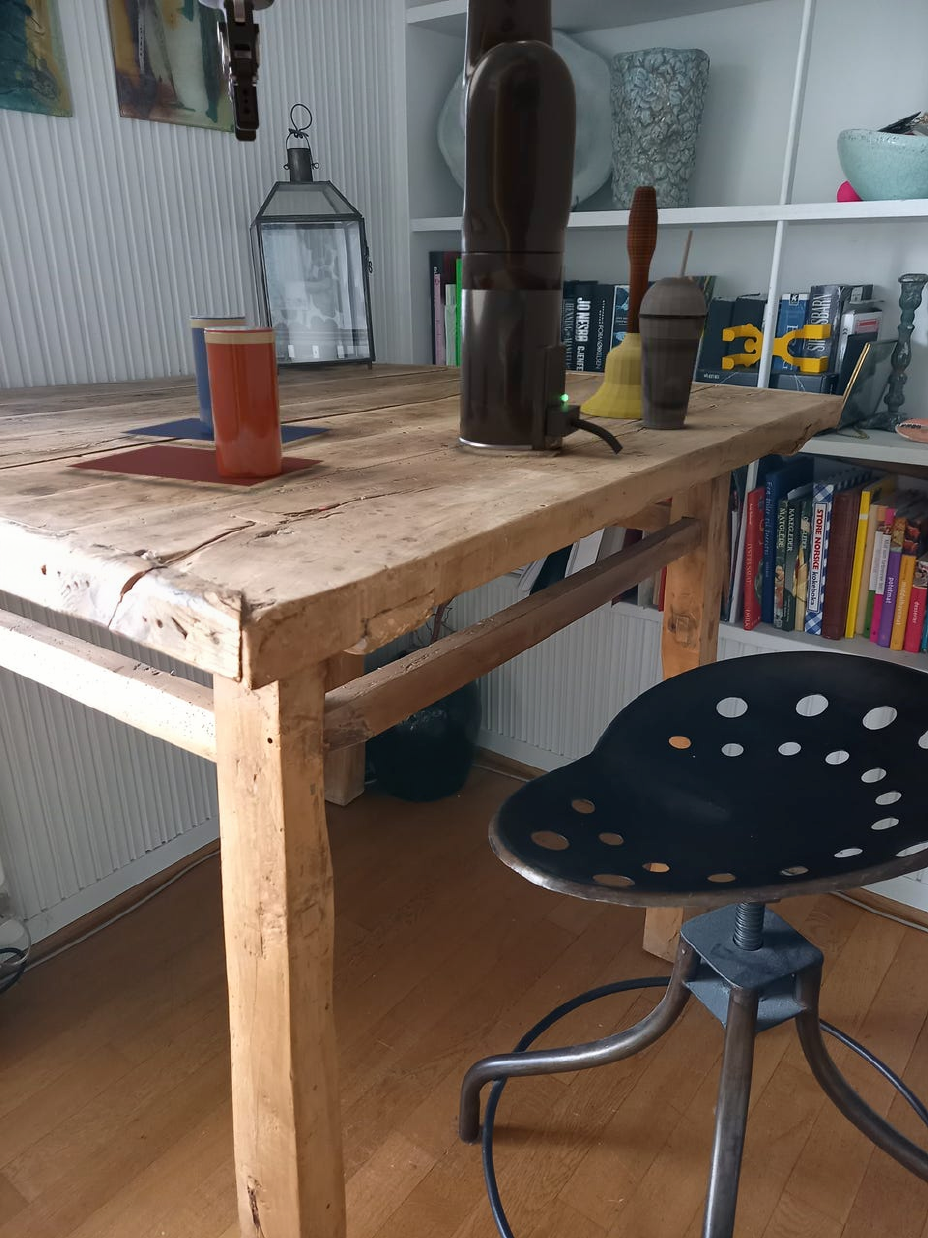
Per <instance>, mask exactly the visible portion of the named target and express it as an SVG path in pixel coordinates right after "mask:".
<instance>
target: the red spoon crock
mask: <svg viewBox="0 0 928 1238" xmlns="http://www.w3.org/2000/svg"><path fill="white" fill-rule="evenodd" d="M204 337H205V342H206V351H207V362H208V373H209V384H210V395H211V406H212V417H213V428H214V439H215V441H214V450H216V462H217V472H218V474H219V475H222V476H225V477H232V478H259V477H267V476H273V475H277V474H280V473H282V472H283V471H284V467H283V457H284V453H283V452H284V451H283V444H282V436H281V425H282V421H281V409H280V408H281V407H280V394H279V393H280V392H279V390H280V389H279V377H278V376H279V375H278V361H277V345H276V342H277V336H276V329H275V327H272V326H258V325H257V326H255V325H254V326H253V325H250V326H249V325H248V326H227V327H209V328H205V331H204Z"/></svg>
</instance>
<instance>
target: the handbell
mask: <svg viewBox="0 0 928 1238" xmlns="http://www.w3.org/2000/svg"><path fill="white" fill-rule="evenodd" d="M634 190H635V191H634V194H633V198H632V203H631V207H630V210H629V214H628V223H627V236H626V249H627V254H628V260H629V272H630V273H629V287H628V300H627V317H626V318H627V319H626V331H625V334H624V338H623V340H622V341H621V342H620V343H619V344H618V345H617V346H615V347H613V348H612V349H610V351H609V352H608V353H607V355H606V359H605V366H604V381H603V382H602V384H601V385H600V387H599V389H598V390H597V392H595V394H593V396H591V397H590V398H589V399H587V400H586V401H585V402H583V403H582V405H581V406H580V413H583V414H585V415H590V416H594V417H603V418H611V419H612V418H613V419H634V420H643V419H642V388H641V336H640V330H639V318H638V314H639V313H640V307H641V303H642V300H643V298H644V296H645V294H646V293H647V291H648V290H649V277H650V276H649V275H650V268H651V263H652V260H653V257H654V255H655V251H656V248H657V241H658V229H659V228H658V227H659V210H658V201H657V200H658V199H657V191H656V189H655V186H653V185H640V186H637V187H636V188H635V189H634Z"/></svg>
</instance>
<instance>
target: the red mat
mask: <svg viewBox="0 0 928 1238" xmlns="http://www.w3.org/2000/svg"><path fill="white" fill-rule="evenodd" d="M323 462H325V460H324V459H323V460H322V459H312V458H301V457H292V456H291V457H289V456H283V467H284V471H283V472H282V473H280V474H277V475H273V476H267V477H259V478H232V477H225V476H222V475H219V474H218V472H217V462H216V450H215V449H205V448H204V449H203V448H196V447H195V448H194V447H185V446H184V447H183V446H174V445H173V446H172V445H161V444H156V445H155V444H154V445H150V446H146V447H142V448H138V449H133V450H130V451H124V452H120V453H116V454H113V455H106V456H103V457H100V458H95V459H90V460H86V461H82V462H77V463H74V464H70V465H69V464H68V465H66V466H65V467H66V468H76V469H83V470H93V471H102V472H113V473H120V474H130V475H138V476H149V477H159V478H166V479H174V480H175V479H176V480H186V481H195V482H202V483H203V482H204V483H212V484H222V485H230V486H231V485H232V486H241V487H252V486H255V485H258V484H261V483H263V482H267V481H270V480H273V479H276V478H279V477H282V476H284V475H288V474H291V473H294V472H296V471H300V470H302V469H307V468H308V467H311V466H314V465H318V464H320V463H323Z"/></svg>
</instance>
